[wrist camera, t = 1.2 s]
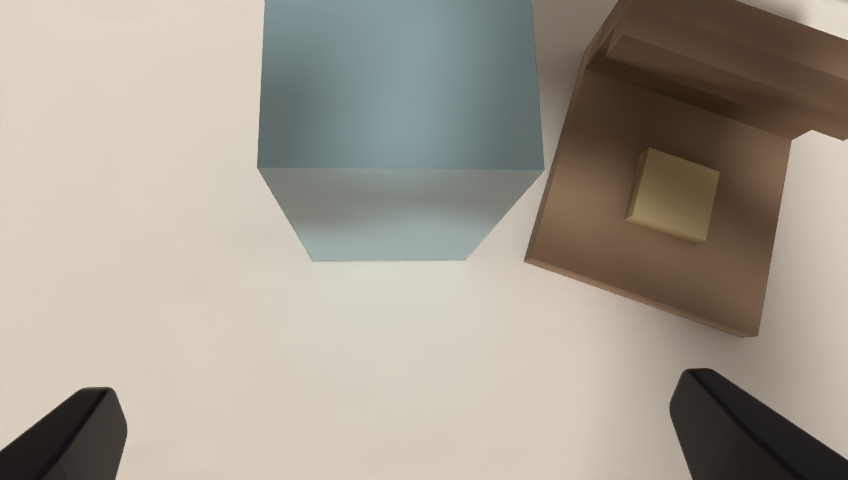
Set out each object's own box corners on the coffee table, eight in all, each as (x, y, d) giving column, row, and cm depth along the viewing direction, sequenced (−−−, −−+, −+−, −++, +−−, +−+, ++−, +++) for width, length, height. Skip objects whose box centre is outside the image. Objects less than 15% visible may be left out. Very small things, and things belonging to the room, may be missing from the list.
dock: (741, 337, 23) (850, 329, 18) (523, 261, 23) (569, 230, 18) (781, 117, 26) (886, 54, 21) (586, 48, 26) (641, -33, 21)
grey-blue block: (465, 260, 23) (544, 169, 12) (312, 261, 22) (257, 167, 12) (457, 93, 25) (521, -114, 14) (316, 89, 24) (270, -128, 13)
